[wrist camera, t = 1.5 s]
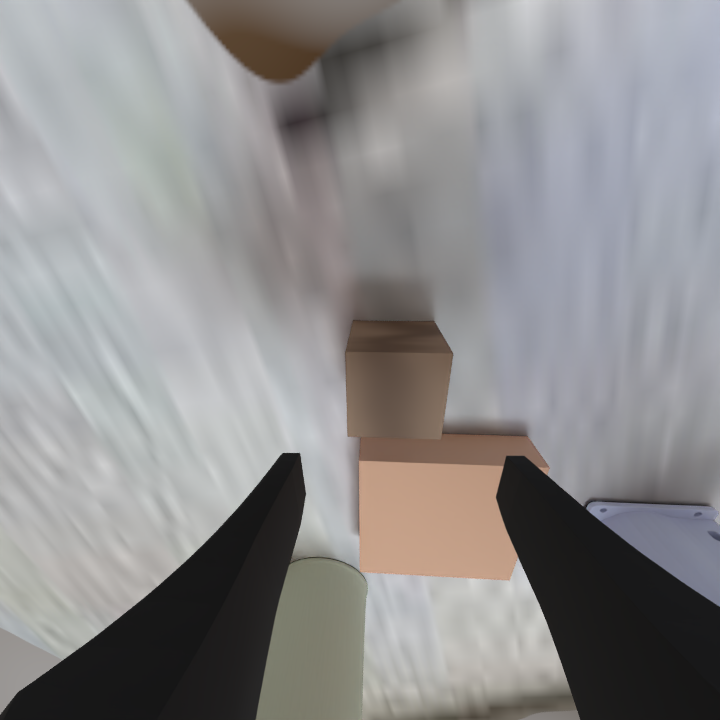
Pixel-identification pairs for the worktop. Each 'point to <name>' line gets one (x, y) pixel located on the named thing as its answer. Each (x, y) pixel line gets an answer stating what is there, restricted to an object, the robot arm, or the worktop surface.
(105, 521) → the worktop surface
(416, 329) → the walnut cube
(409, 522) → the tan rectangular block
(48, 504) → the worktop surface
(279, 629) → the can
